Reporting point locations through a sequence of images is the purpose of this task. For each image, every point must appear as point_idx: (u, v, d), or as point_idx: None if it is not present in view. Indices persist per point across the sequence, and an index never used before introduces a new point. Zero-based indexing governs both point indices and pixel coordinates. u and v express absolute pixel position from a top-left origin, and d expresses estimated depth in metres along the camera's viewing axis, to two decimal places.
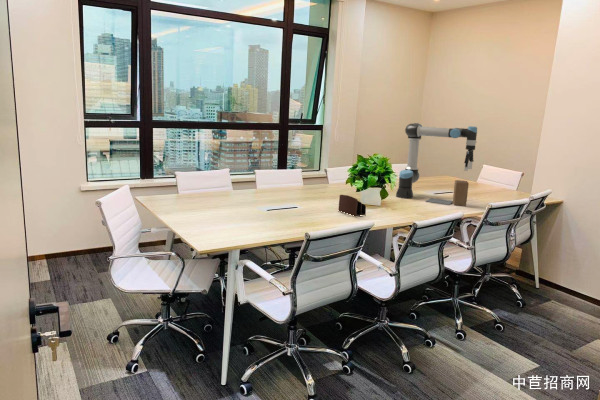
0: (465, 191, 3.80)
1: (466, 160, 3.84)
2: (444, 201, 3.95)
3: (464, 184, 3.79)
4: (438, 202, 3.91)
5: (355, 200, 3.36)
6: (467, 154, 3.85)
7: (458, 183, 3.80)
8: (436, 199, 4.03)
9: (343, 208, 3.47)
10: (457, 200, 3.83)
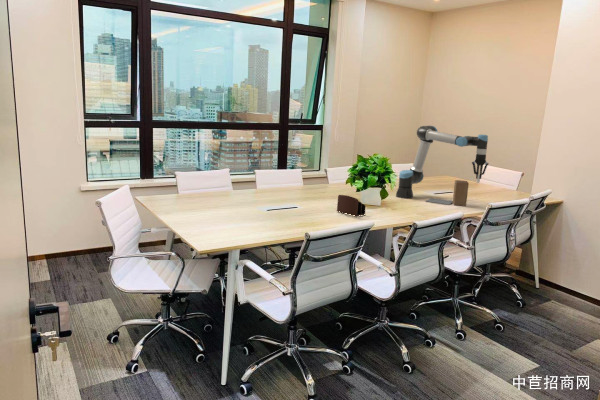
0: (465, 191, 3.80)
1: None
2: (444, 201, 3.95)
3: (464, 184, 3.79)
4: (438, 202, 3.91)
5: (355, 200, 3.36)
6: None
7: (458, 183, 3.80)
8: (436, 199, 4.03)
9: (342, 209, 3.46)
10: (457, 200, 3.83)
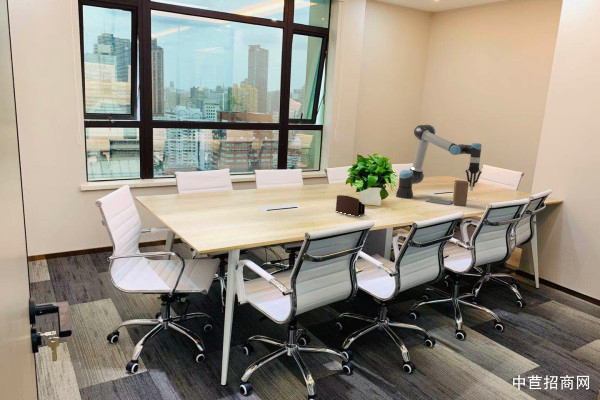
0: (465, 191, 3.80)
1: None
2: (444, 201, 3.95)
3: (464, 184, 3.79)
4: (438, 202, 3.91)
5: (356, 200, 3.36)
6: None
7: (458, 183, 3.80)
8: (436, 199, 4.03)
9: (341, 209, 3.45)
10: (457, 200, 3.83)
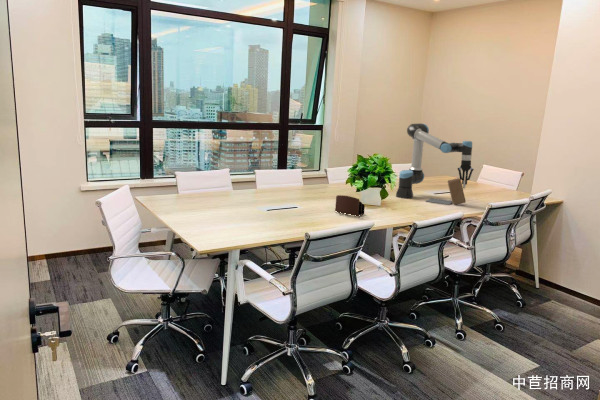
0: (460, 188, 3.81)
1: None
2: (444, 201, 3.95)
3: (457, 182, 3.81)
4: (438, 202, 3.91)
5: (356, 200, 3.36)
6: None
7: (451, 182, 3.82)
8: (436, 199, 4.03)
9: (341, 209, 3.45)
10: (455, 199, 3.83)
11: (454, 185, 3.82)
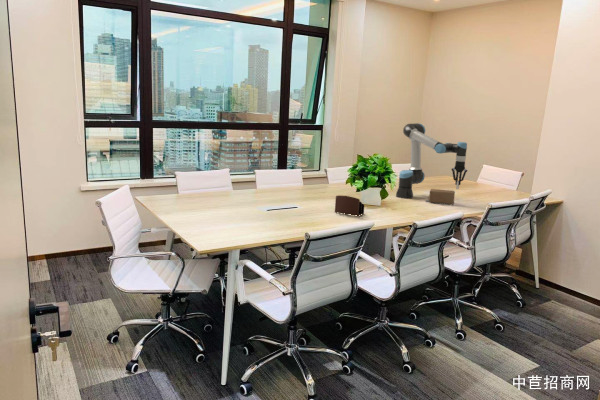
0: (438, 193, 3.87)
1: None
2: None
3: (431, 194, 3.89)
4: None
5: (356, 200, 3.36)
6: None
7: (430, 200, 3.90)
8: None
9: (341, 209, 3.44)
10: (447, 201, 3.85)
11: (433, 197, 3.89)
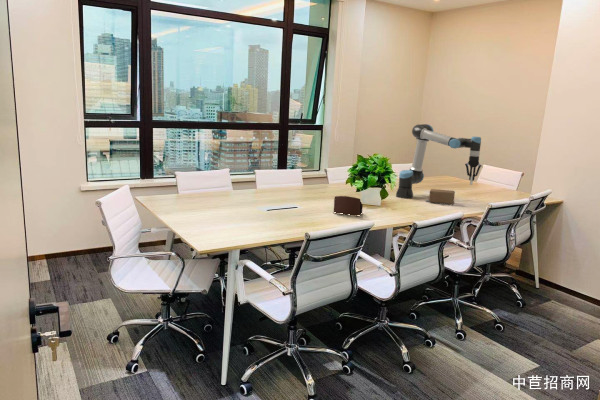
0: (438, 193, 3.87)
1: None
2: None
3: (431, 194, 3.89)
4: None
5: (357, 200, 3.37)
6: None
7: (430, 200, 3.90)
8: None
9: (340, 210, 3.43)
10: (447, 201, 3.85)
11: (433, 197, 3.89)
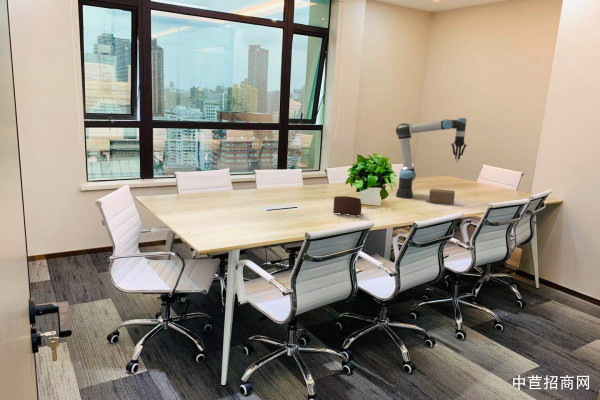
0: (438, 193, 3.87)
1: None
2: None
3: (431, 194, 3.89)
4: None
5: (358, 200, 3.37)
6: None
7: (430, 200, 3.90)
8: None
9: (340, 210, 3.42)
10: (447, 201, 3.85)
11: (433, 197, 3.89)
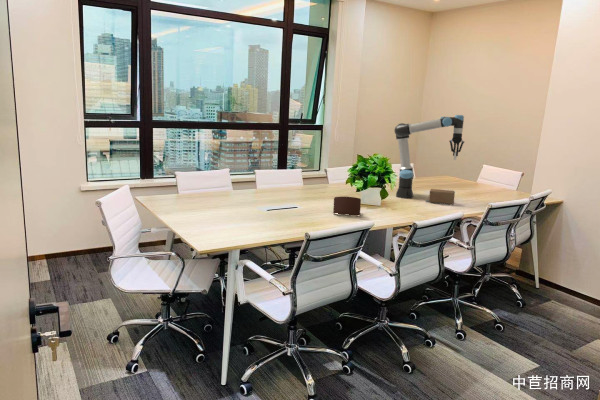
0: (438, 193, 3.87)
1: None
2: None
3: (431, 194, 3.89)
4: None
5: (358, 199, 3.38)
6: None
7: (430, 200, 3.90)
8: None
9: (340, 210, 3.41)
10: (447, 201, 3.85)
11: (433, 197, 3.89)
